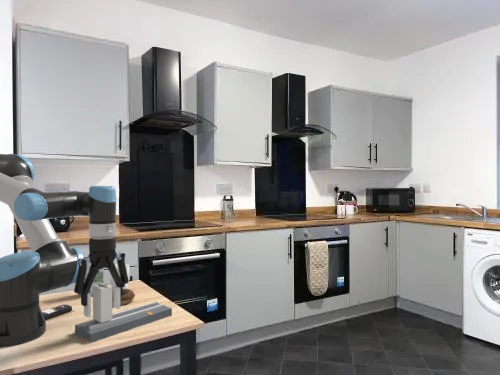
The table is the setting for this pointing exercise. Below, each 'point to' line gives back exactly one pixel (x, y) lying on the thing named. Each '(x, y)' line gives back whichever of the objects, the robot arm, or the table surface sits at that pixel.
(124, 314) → the slider board
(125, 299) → the donut
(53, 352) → the table surface
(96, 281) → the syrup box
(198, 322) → the table surface
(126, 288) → the white cup
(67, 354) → the table surface
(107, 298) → the fader knob
